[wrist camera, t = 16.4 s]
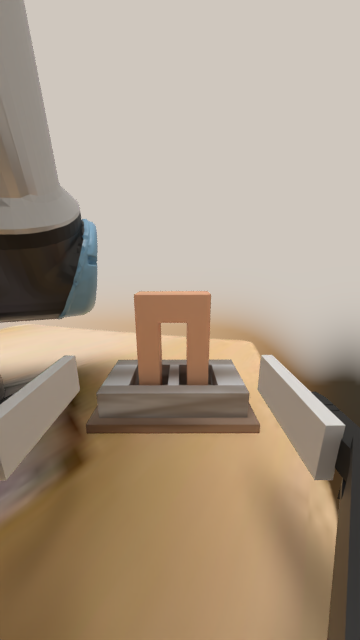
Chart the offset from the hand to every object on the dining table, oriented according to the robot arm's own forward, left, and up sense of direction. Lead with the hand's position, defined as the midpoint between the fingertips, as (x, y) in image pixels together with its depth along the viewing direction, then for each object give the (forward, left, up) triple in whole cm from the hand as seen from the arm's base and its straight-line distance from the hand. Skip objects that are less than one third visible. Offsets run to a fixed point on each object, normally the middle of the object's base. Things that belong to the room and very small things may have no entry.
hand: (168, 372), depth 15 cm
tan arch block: (-5, +8, -8) cm, 13 cm away
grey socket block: (-5, +8, -9) cm, 14 cm away
